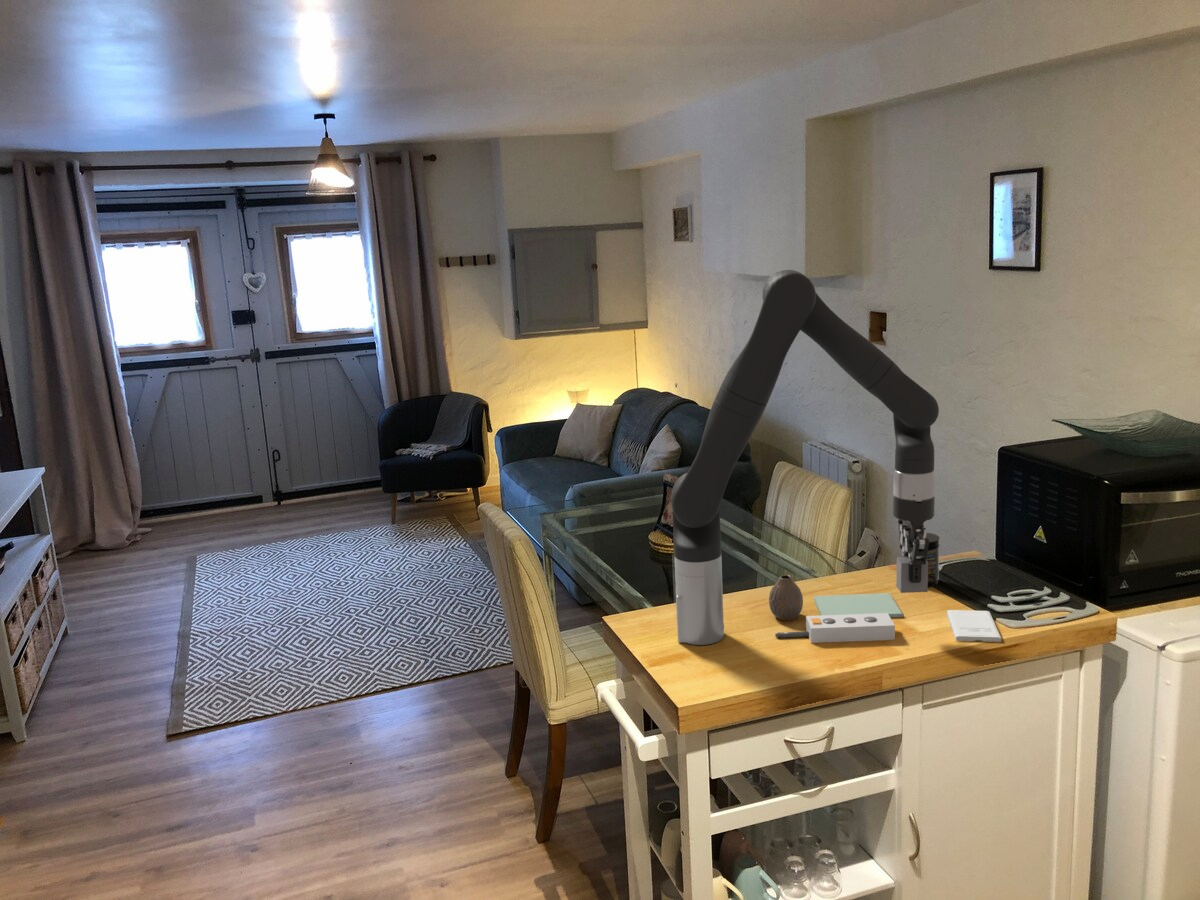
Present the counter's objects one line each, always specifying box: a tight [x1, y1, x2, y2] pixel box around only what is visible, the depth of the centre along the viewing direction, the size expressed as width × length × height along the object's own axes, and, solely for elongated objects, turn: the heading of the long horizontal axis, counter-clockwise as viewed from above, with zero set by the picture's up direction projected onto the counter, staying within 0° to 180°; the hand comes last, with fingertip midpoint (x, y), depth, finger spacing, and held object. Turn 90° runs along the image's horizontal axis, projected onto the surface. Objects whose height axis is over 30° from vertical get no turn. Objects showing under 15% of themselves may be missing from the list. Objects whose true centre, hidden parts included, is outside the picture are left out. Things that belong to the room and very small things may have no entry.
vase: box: [768, 574, 804, 621], centre depth 203 cm, size 7×7×9 cm
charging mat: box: [813, 592, 903, 619], centre depth 206 cm, size 16×11×1 cm
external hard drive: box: [946, 609, 1002, 643], centre depth 193 cm, size 2×8×12 cm
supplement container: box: [925, 532, 941, 587], centre depth 217 cm, size 7×7×10 cm
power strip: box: [774, 613, 896, 644], centre depth 194 cm, size 22×6×3 cm, turn 87°
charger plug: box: [895, 556, 928, 594], centre depth 190 cm, size 5×4×6 cm
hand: (912, 578), depth 190 cm, fingers closed on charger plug, 3 cm apart
